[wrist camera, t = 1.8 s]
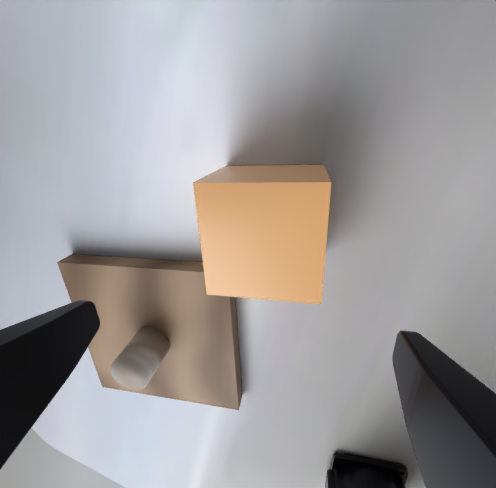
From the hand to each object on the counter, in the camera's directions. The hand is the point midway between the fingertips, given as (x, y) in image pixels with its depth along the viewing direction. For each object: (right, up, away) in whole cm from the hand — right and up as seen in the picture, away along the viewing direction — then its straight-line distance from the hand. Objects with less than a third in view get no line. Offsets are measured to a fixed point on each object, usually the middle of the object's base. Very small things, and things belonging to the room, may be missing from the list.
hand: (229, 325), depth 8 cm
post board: (-7, -5, +16) cm, 18 cm away
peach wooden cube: (+2, +5, +10) cm, 11 cm away
